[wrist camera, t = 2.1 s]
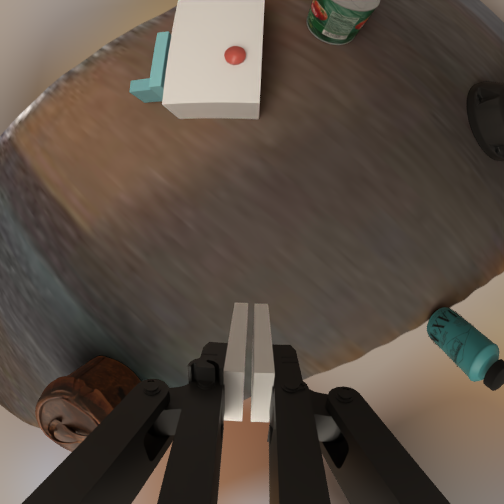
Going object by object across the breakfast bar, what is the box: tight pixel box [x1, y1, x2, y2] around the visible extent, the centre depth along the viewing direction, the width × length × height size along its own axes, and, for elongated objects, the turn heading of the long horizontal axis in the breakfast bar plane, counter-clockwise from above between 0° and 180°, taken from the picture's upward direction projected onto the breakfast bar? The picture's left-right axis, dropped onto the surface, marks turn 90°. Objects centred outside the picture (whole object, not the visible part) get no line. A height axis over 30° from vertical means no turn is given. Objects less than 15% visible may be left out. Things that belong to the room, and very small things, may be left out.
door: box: [130, 32, 171, 103], centre depth 31 cm, size 4×8×8 cm, turn 177°
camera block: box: [162, 0, 265, 119], centre depth 30 cm, size 11×20×9 cm, turn 177°
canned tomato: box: [306, 0, 380, 45], centre depth 27 cm, size 8×8×11 cm
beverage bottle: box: [427, 307, 504, 391], centre depth 33 cm, size 6×7×20 cm
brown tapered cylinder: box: [35, 356, 141, 452], centre depth 38 cm, size 18×20×18 cm
